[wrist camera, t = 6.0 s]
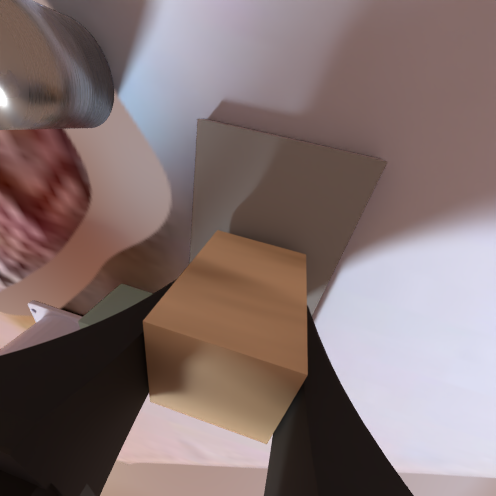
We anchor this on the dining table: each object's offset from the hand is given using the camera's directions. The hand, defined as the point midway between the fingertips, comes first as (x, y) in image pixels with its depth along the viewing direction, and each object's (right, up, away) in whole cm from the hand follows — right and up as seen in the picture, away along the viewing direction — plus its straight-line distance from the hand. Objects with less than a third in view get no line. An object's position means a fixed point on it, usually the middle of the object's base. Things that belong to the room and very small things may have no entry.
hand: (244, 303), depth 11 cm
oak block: (0, +1, +1) cm, 2 cm away
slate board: (+1, +2, +3) cm, 4 cm away
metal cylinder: (-8, +11, 0) cm, 14 cm away
